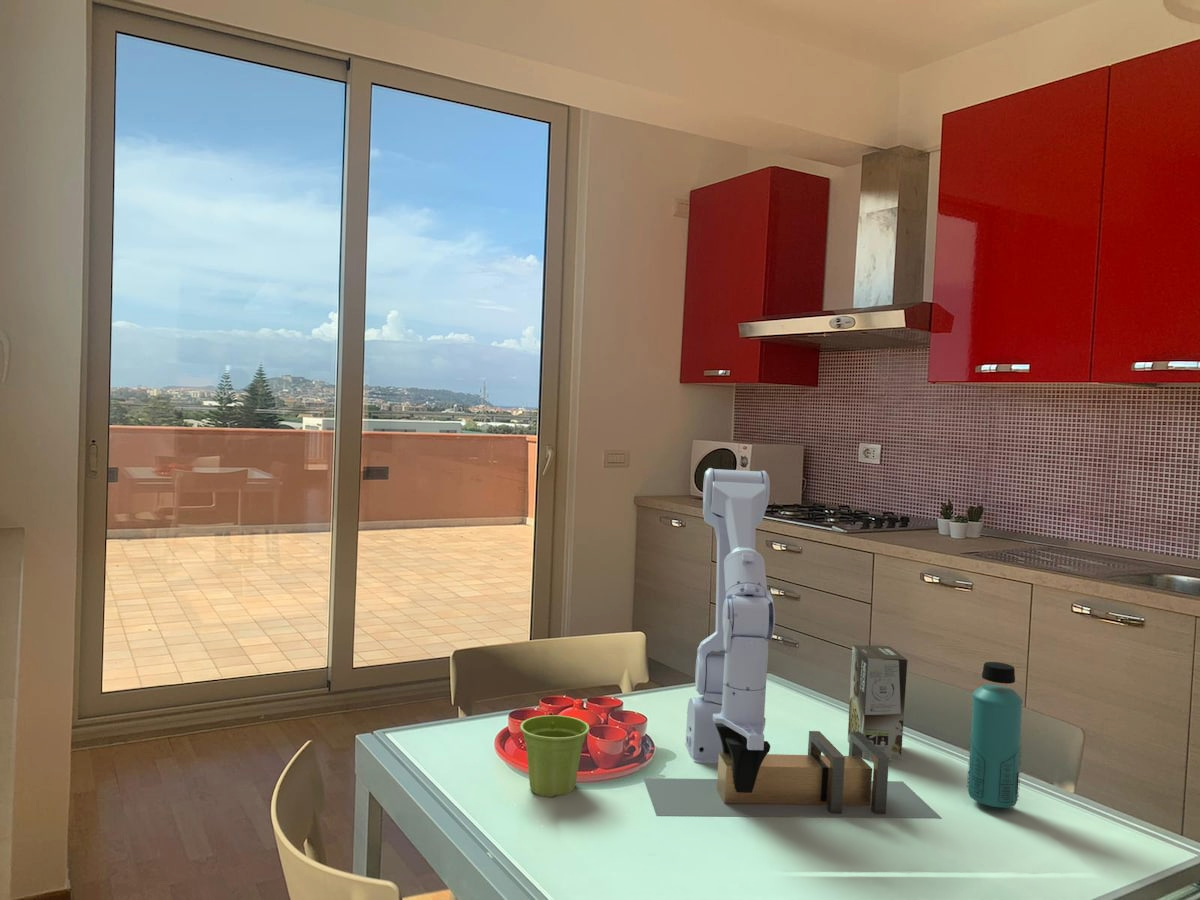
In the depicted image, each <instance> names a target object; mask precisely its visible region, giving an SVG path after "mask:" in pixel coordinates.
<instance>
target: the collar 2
mask: <svg viewBox="0 0 1200 900" xmlns="http://www.w3.org/2000/svg"><path fill="white" fill-rule="evenodd" d="M848 743H849V744H848V745H849V746H848V756H860V757H861V758H862V751H863V752H864V753H865V754H866V755H867V756H868V757H869V758H870V759H869V760H871V761H872V762H873V768H872V781H873V786H872V803H871V811H872V812H873V813H874V814H886V800H887V783H888V781H889V778H888V777H889V765H890V763H889V762H890V760H889V757H887V756H886V755H885V754H884V753H883V752H882V751H881V750H880V749H879V748H877V747H876V746H875V745H874V744H873V743H872V742H871V741H870V740H869V739H868V738H866V737H865V736H864V735H863V734H862V733H861V732H850V741H849V742H848ZM862 759H863V758H862Z"/></svg>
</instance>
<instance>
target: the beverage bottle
mask: <svg viewBox="0 0 1200 900" xmlns="http://www.w3.org/2000/svg"><path fill="white" fill-rule="evenodd" d="M1015 674H1016V671H1015V667H1014V666H1013V665H1011V664H1008V663H1005V662H998V661H986V662H984V663H983V669H982V673H981V678H982V679H983V680H986V681H989V682H991V683H992V682H993V683H997V684H1006V685H1007V684H1014V683H1015V682H1016V675H1015ZM997 684H983V685H982V686H979V687H978V688H977V689H975V690H974V691H973V693H972V715H971V728H970V739H969V744H968V745H969V746H968V748H969V756H968V757H969V761H968V762H967V765H968V771H967V774H968V777H967V783H966V785H967V792H968V795H969V798H971V799H973V800H974V801H976V802H977V803H981V804H983V805H986V806H989V807H996V808H1011V807H1014V806H1016V805H1017V802H1018V799H1019V797H1020V796H1019V790H1020V787H1019V786H1020V783H1021V781H1020V780H1021V779H1020V774H1021V771H1020V767H1021V763H1022V762H1021V761H1022V760H1021V758H1022V751H1021V749H1022V743H1021V740H1022V734H1021V732H1022V711H1023V699H1022V698H1021V696H1020V695H1019V694H1018V692H1016V691H1015V690H1014V689H1013V688H1010V687H1007V686H1002V685H997Z"/></svg>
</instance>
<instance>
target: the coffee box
mask: <svg viewBox="0 0 1200 900" xmlns="http://www.w3.org/2000/svg"><path fill="white" fill-rule="evenodd" d="M851 646H852V647H851V648H852V651H851V652H852V653H851V664H850V665H851V666H850V681H849V682H850V686H849V687H850V689H849V705H848V706H849V709H848V723H847V724H848V726H847V727H848V728H847V742H848V743H849V741H850V732H861V733H862V734H863V735H864V736H865V737H866V738H868V739H869V740H870V741H871V742H872V743H873V744H874V745H875V746H876V747H877V748H879V749H880V750H881V751H882V752H883V753H884V754H885V755H886V756H887V757H889V761H902V754H903V753H902V751H903V737H904V736H903V734H904V717H905V703H906V701H905V700H906V692H907V691H906V690H907V687H906V686H907V673H908V672H907V671H908V662H909V660H908V658H906V657H905V656H903V655H902V654H901V653H899V652H898V651H896V650H895V649H894V648H893V647H891V646H890V645H867V644H866V645H861V644H860V645H857V644H853V645H851ZM862 759H863V760H864V759H866V760H871V759H870V758H869V757H868V756H867V755H866V754H865V753H864V752H863V751H862Z"/></svg>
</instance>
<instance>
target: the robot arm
mask: <svg viewBox="0 0 1200 900" xmlns="http://www.w3.org/2000/svg"><path fill="white" fill-rule="evenodd" d="M703 476H704V477H703V483H702V484H703V488H702V516H703V521H704V522H705V523H706V524H708V525H710V526H711V527H712V528H714V533H715V534H714V535H715V538H716V579H715V580H716V582H715V583H716V584H715V585H716V587H715V592H716V593H715V631H714V632H713V633H712V634H711V635H709V636H708V637H706V638H705V639H702V641H701V642H700V643H699V644H698V645H699V646H697V651H696V655H697V656H696V661H695V674H694V675H695V676H694V677H695V680H694V683H695V690H696V692H697V693H698V695H701V696H696V697H691V698H689V699H688V702H687V712H686V713H687V715H686V730H685V731H686V732H685V742H684V746H685V748H686V750H687V752H688V754H689V756H690V758H691V760H692V761H693V763H695V764H718V761H719V753H730V754H731V758H732V764H733V775H734V785H735V789H736V792H738V793H752V790H753V788H754V784H755V781H756V777H757V774H758V771H759V768H760V766H761V763H762V761H763V759H764V758H765V756H766V755H767V754H769V752H770V750H771V744H770V742H769V741H767V740H765V734H764V731H765V727H766V722H767V721H766V720H767V719H766V717H765V713H766V712H765V711H766V710H765V708H766V696H767V695H766V691H767V675H768V674H767V673H768V658H769V657H768V656H769V640H770V641H771V640H773V636H774V632H775V624H776V613H775V610H776V609H775V604H774V599H773V596H772V595H771V594H772V593H771V590H768V585H767V584H768V583H767V574H766V564H765V559H764V557H763V556H762V554H761V553H759V552H758V551H757V550H756V532H757V531H756V530H757V529H756V528H757V527H758V526H760V525H761V523H762V521H763V519H764V518H765V514H766V512H767V507H768V505H769V501H770V494H771V491H770V490H771V488H770V487H771V484H770V483H771V480H770V476H769V474H768V473H767V471H766V470H760V471H759V470H758V471H757V470H737V469H721V468H719V469H718V468H717V469H715V468H712V467H708V468H707V470H705V472H704V475H703ZM767 638H768V639H767ZM714 652H715V653H716V654H714ZM711 653H712V654H711ZM717 653H724V654H717Z"/></svg>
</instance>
